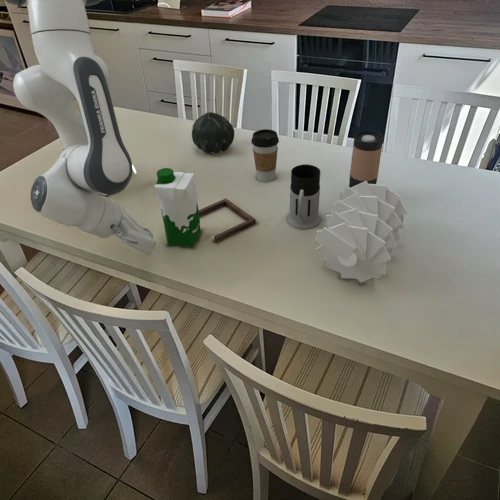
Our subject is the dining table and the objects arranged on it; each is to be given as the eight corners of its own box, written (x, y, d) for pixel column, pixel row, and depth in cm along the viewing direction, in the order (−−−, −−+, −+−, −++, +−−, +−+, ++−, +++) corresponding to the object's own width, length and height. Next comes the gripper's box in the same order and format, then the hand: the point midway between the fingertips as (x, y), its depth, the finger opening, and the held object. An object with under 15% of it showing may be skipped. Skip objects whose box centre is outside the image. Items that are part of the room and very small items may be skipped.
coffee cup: (248, 181, 142) (246, 137, 133) (258, 169, 148) (257, 125, 139) (273, 185, 140) (273, 140, 130) (282, 172, 146) (282, 129, 136)
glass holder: (321, 211, 127) (324, 164, 118) (315, 242, 117) (318, 192, 107) (290, 209, 129) (291, 162, 120) (282, 238, 118) (282, 189, 109)
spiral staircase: (382, 245, 120) (360, 304, 102) (327, 210, 122) (296, 261, 103) (425, 197, 108) (410, 255, 90) (364, 158, 109) (335, 206, 91)
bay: (188, 219, 127) (187, 214, 126) (226, 202, 133) (225, 198, 132) (216, 242, 118) (216, 238, 117) (256, 223, 124) (255, 219, 123)
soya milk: (174, 227, 124) (162, 162, 112) (205, 230, 123) (196, 164, 110) (163, 247, 118) (149, 180, 105) (196, 250, 116) (185, 182, 104)
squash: (221, 120, 167) (197, 98, 155) (248, 133, 159) (225, 111, 147) (201, 153, 168) (175, 133, 156) (226, 167, 160) (202, 148, 147)
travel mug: (376, 196, 132) (386, 132, 120) (370, 209, 127) (380, 144, 114) (350, 191, 135) (358, 128, 122) (343, 204, 130) (350, 140, 117)
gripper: (130, 225, 95) (177, 243, 105) (93, 188, 108) (138, 207, 118) (115, 250, 96) (163, 266, 106) (80, 210, 109) (126, 227, 119)
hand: (149, 235), depth 112 cm, fingers closed
